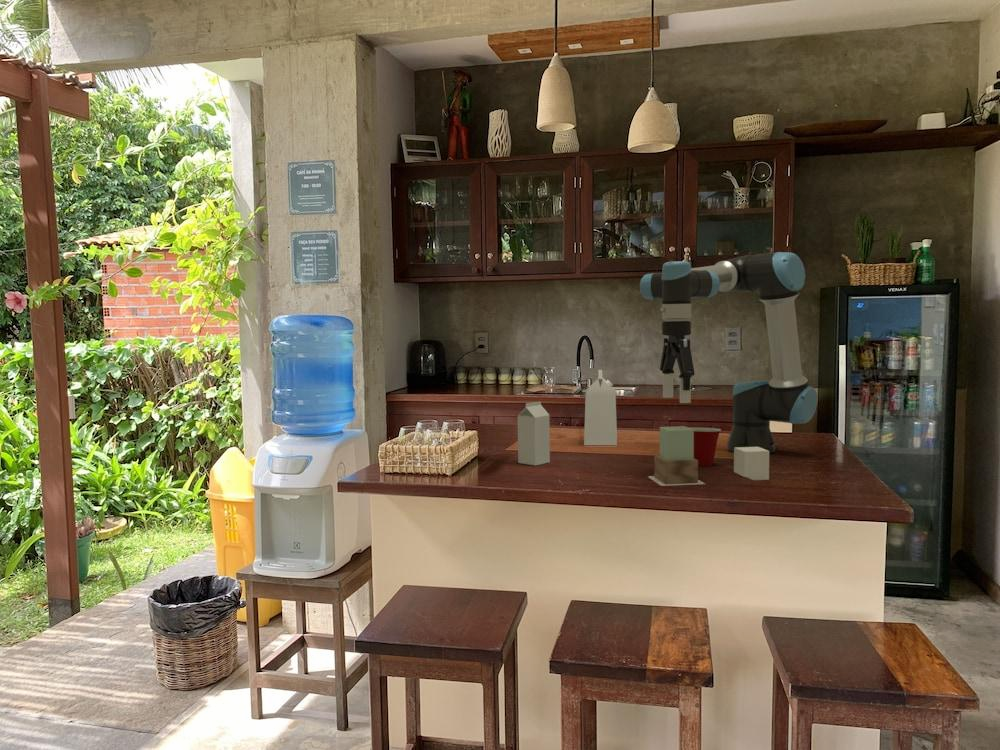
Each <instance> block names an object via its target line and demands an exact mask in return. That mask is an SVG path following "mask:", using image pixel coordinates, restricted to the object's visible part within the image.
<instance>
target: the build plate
mask: <svg viewBox="0 0 1000 750" xmlns="http://www.w3.org/2000/svg"><path fill="white" fill-rule="evenodd" d="M647 478H649V479H650V480H652V481H653V482H655V483H656V484H657V485H659V486H661V487H667V486H668V487H669V486H671V487H673V486H688V485H690V486H691V485H706V483H705V482H703V481H701V480H700V479H698V483H684V484H664V483H662V482H661V481H659V480H658V479H656V478H655V477H654V475H650V476H647Z"/></svg>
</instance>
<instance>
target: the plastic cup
mask: <svg viewBox="0 0 1000 750" xmlns="http://www.w3.org/2000/svg"><path fill="white" fill-rule="evenodd" d="M689 428H690V429H693V430H694V459H696V460H698V467H711V466H714V464H713V463H714V458H715V454H716V450H717V443H718V440H719V437H720V433H721V431H722V429H721V428H717V427H689Z"/></svg>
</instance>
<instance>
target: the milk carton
mask: <svg viewBox="0 0 1000 750" xmlns="http://www.w3.org/2000/svg"><path fill="white" fill-rule="evenodd" d="M550 438H551V436H550V414H549V413H548V411H547V410H546V409H545V408H544V407H543V405H542V401H534V402H533V401H532V402H526V403H525V407H524V408H523V409H522V410H521V411H520V412H519V413H518V415H517V463H518V464H523V465H529V466H541V465H544V464H548V463H550V462H551V447H550V446H551V443H550V441H551V440H550Z"/></svg>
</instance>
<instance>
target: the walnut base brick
mask: <svg viewBox="0 0 1000 750" xmlns="http://www.w3.org/2000/svg"><path fill="white" fill-rule="evenodd" d="M653 458H654V460H653V461H654V463H653V464H654V465H653V470H654V471H653V472H654V473H653V476H654V477H655V478H656V479H658V480H659V481H661V482H662V483H664V484H684V483H698V480H699V466H698V460H696V459H694V460H677V461H667V460H666V459H664V458H662V457H660V454H658V455H657V454H656V455H654V457H653Z"/></svg>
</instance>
